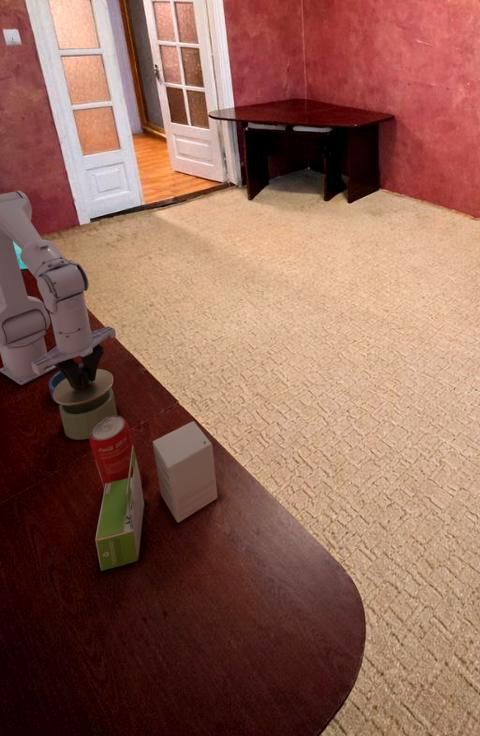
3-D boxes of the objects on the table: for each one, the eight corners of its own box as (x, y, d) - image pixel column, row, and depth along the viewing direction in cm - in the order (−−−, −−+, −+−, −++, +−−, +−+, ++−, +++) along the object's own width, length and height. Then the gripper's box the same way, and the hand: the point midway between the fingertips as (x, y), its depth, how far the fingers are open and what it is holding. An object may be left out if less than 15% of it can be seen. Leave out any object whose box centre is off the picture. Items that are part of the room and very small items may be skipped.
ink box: (110, 513, 81) (98, 449, 76) (145, 503, 83) (135, 441, 78) (100, 573, 72) (85, 505, 68) (140, 561, 74) (128, 494, 70)
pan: (42, 394, 106) (39, 381, 105) (85, 371, 114) (82, 359, 112) (67, 410, 102) (64, 397, 101) (109, 385, 110) (107, 372, 108)
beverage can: (149, 477, 88) (139, 412, 83) (127, 509, 82) (114, 441, 77) (118, 472, 89) (106, 408, 83) (94, 504, 83) (79, 437, 77)
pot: (54, 427, 97) (49, 404, 95) (99, 400, 105) (95, 378, 103) (82, 446, 94) (76, 422, 92) (126, 417, 101) (122, 394, 99)
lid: (42, 395, 95) (38, 375, 93) (94, 367, 103) (91, 349, 102) (73, 415, 90) (69, 395, 89) (124, 384, 99) (121, 365, 97)
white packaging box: (200, 472, 90) (195, 418, 86) (218, 498, 85) (213, 443, 81) (159, 495, 85) (151, 440, 81) (176, 525, 80) (168, 468, 76)
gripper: (41, 352, 84) (56, 413, 88) (121, 314, 96) (130, 370, 101) (19, 338, 87) (34, 399, 91) (99, 304, 99) (109, 359, 104)
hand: (83, 383), depth 96 cm, fingers closed on lid, 2 cm apart
